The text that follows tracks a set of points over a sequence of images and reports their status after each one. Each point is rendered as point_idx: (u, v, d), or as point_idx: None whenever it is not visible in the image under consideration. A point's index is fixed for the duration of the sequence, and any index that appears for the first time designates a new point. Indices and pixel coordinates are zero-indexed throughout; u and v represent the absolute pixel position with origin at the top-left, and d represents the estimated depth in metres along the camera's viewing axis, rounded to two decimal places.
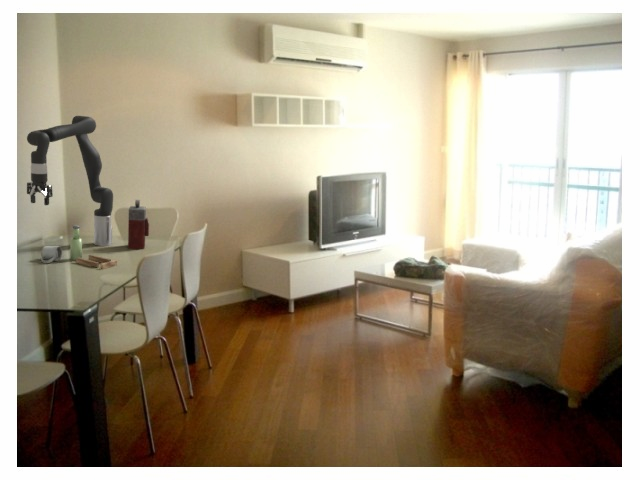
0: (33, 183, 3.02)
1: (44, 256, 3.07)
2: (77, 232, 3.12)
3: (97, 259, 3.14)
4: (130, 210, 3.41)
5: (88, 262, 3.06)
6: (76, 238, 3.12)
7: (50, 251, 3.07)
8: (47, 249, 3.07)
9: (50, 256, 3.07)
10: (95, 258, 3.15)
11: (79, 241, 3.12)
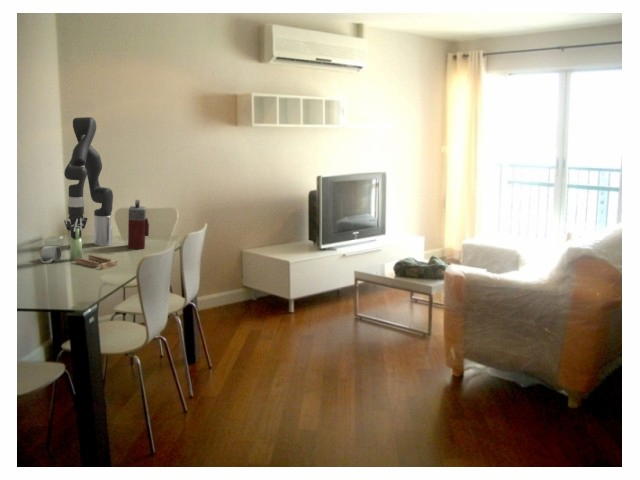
0: (73, 217, 3.08)
1: (43, 256, 3.06)
2: (77, 232, 3.12)
3: (97, 259, 3.14)
4: (130, 210, 3.41)
5: (88, 262, 3.06)
6: (76, 238, 3.12)
7: (49, 251, 3.06)
8: (46, 249, 3.06)
9: (49, 256, 3.06)
10: (95, 258, 3.15)
11: (79, 241, 3.12)
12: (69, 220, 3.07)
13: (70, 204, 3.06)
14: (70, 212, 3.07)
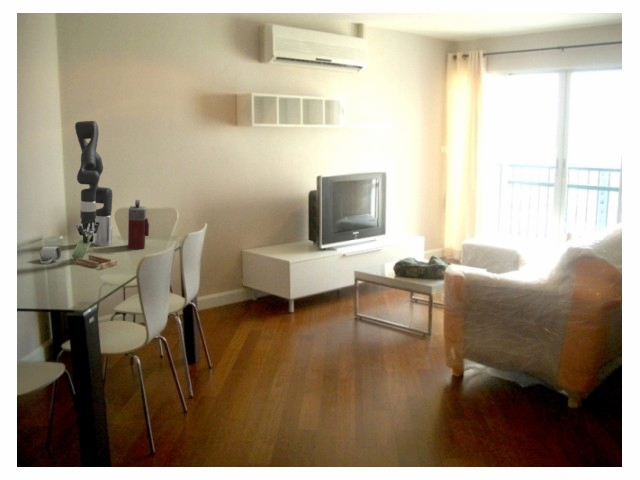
0: (85, 222, 3.05)
1: (43, 257, 3.06)
2: (89, 237, 3.09)
3: (97, 259, 3.14)
4: (130, 210, 3.41)
5: (88, 262, 3.06)
6: None
7: (49, 252, 3.05)
8: (46, 250, 3.06)
9: (49, 257, 3.05)
10: (95, 258, 3.15)
11: (87, 246, 3.10)
12: (81, 225, 3.04)
13: (82, 209, 3.03)
14: (82, 217, 3.04)
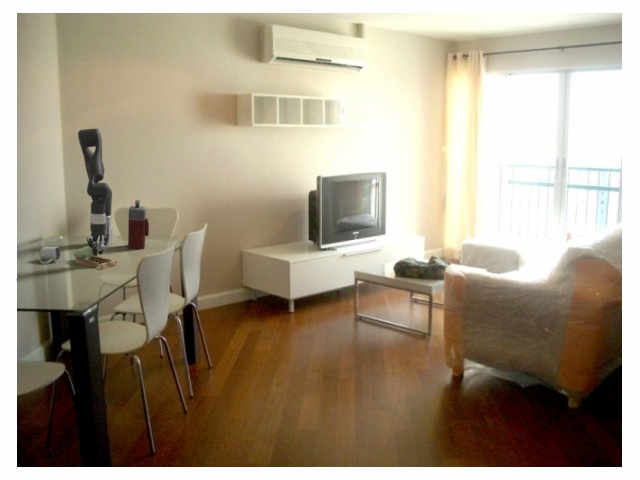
0: (95, 234, 3.03)
1: (42, 257, 3.05)
2: (98, 250, 3.08)
3: (97, 259, 3.14)
4: (130, 210, 3.41)
5: (88, 262, 3.06)
6: None
7: (48, 252, 3.05)
8: (45, 250, 3.05)
9: (48, 257, 3.05)
10: (95, 258, 3.15)
11: (93, 255, 3.10)
12: (91, 237, 3.02)
13: (92, 221, 3.02)
14: (92, 229, 3.03)
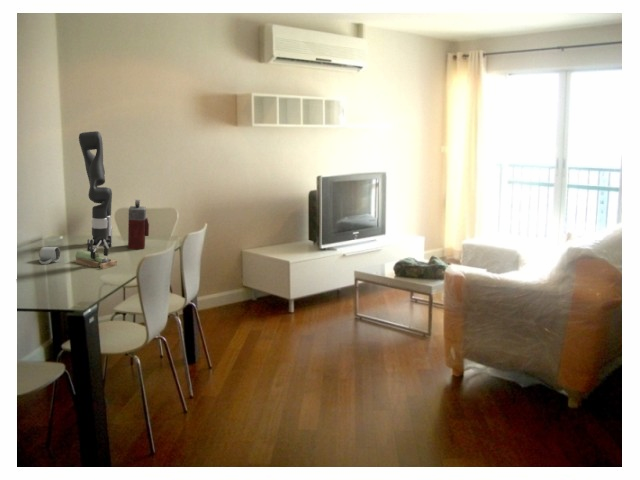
0: (97, 238, 3.04)
1: (42, 257, 3.05)
2: None
3: None
4: (130, 210, 3.41)
5: (88, 262, 3.06)
6: None
7: (48, 252, 3.04)
8: (45, 250, 3.05)
9: (48, 257, 3.04)
10: None
11: None
12: (93, 240, 3.02)
13: (94, 225, 3.02)
14: (94, 233, 3.03)
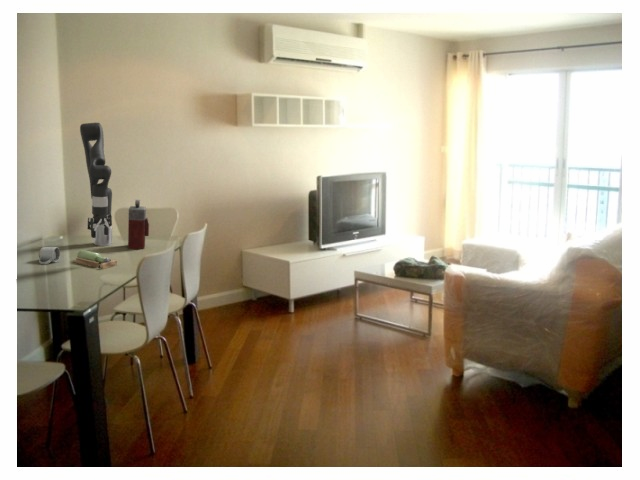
0: (97, 217, 3.01)
1: (42, 257, 3.04)
2: (101, 262, 3.08)
3: None
4: (130, 210, 3.41)
5: (88, 262, 3.06)
6: (96, 261, 3.09)
7: (48, 252, 3.04)
8: (45, 250, 3.05)
9: (48, 257, 3.04)
10: None
11: None
12: (93, 219, 3.00)
13: (94, 204, 2.99)
14: (94, 212, 3.00)
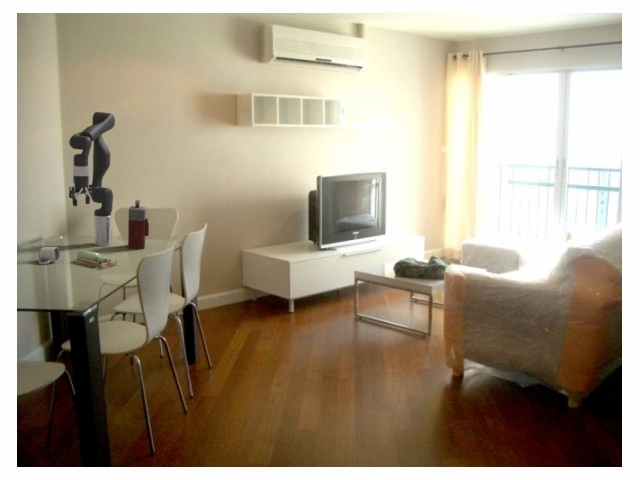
0: (78, 186, 3.12)
1: (41, 257, 3.04)
2: (101, 262, 3.08)
3: None
4: (130, 210, 3.41)
5: (88, 262, 3.06)
6: (96, 261, 3.09)
7: (47, 252, 3.04)
8: (44, 250, 3.04)
9: (47, 257, 3.04)
10: None
11: None
12: (74, 187, 3.11)
13: (75, 173, 3.10)
14: (75, 181, 3.11)
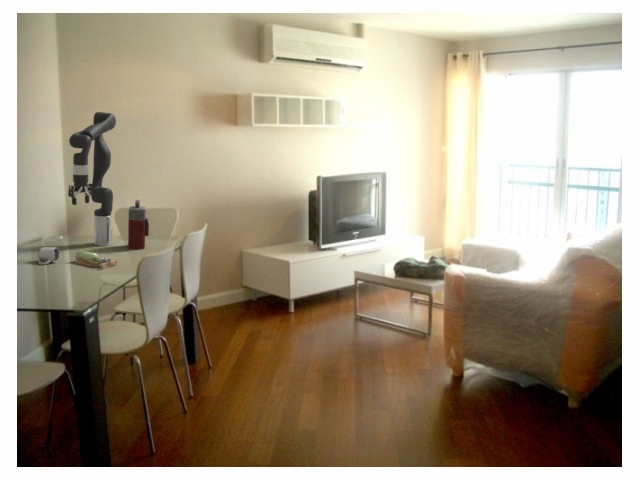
0: (78, 185, 3.13)
1: (41, 258, 3.04)
2: None
3: None
4: (130, 210, 3.41)
5: (88, 262, 3.06)
6: None
7: (47, 252, 3.03)
8: (44, 250, 3.04)
9: (47, 258, 3.04)
10: None
11: None
12: (74, 186, 3.11)
13: (75, 172, 3.11)
14: (75, 180, 3.11)
